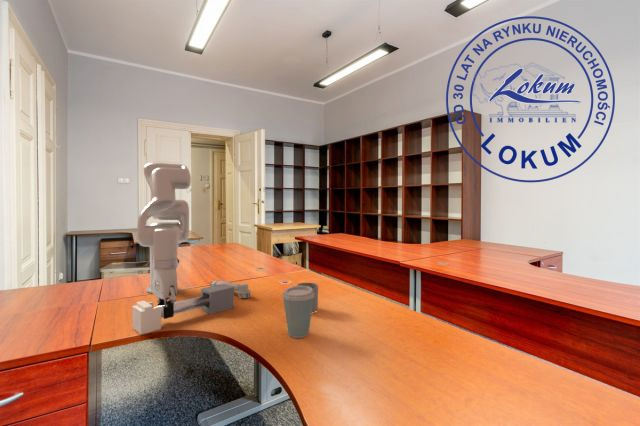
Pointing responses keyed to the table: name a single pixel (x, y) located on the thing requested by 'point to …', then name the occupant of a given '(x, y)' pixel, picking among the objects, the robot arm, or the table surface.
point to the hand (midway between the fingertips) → (165, 315)
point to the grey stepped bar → (235, 288)
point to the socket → (146, 317)
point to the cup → (315, 290)
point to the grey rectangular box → (218, 298)
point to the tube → (188, 304)
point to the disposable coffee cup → (298, 309)
